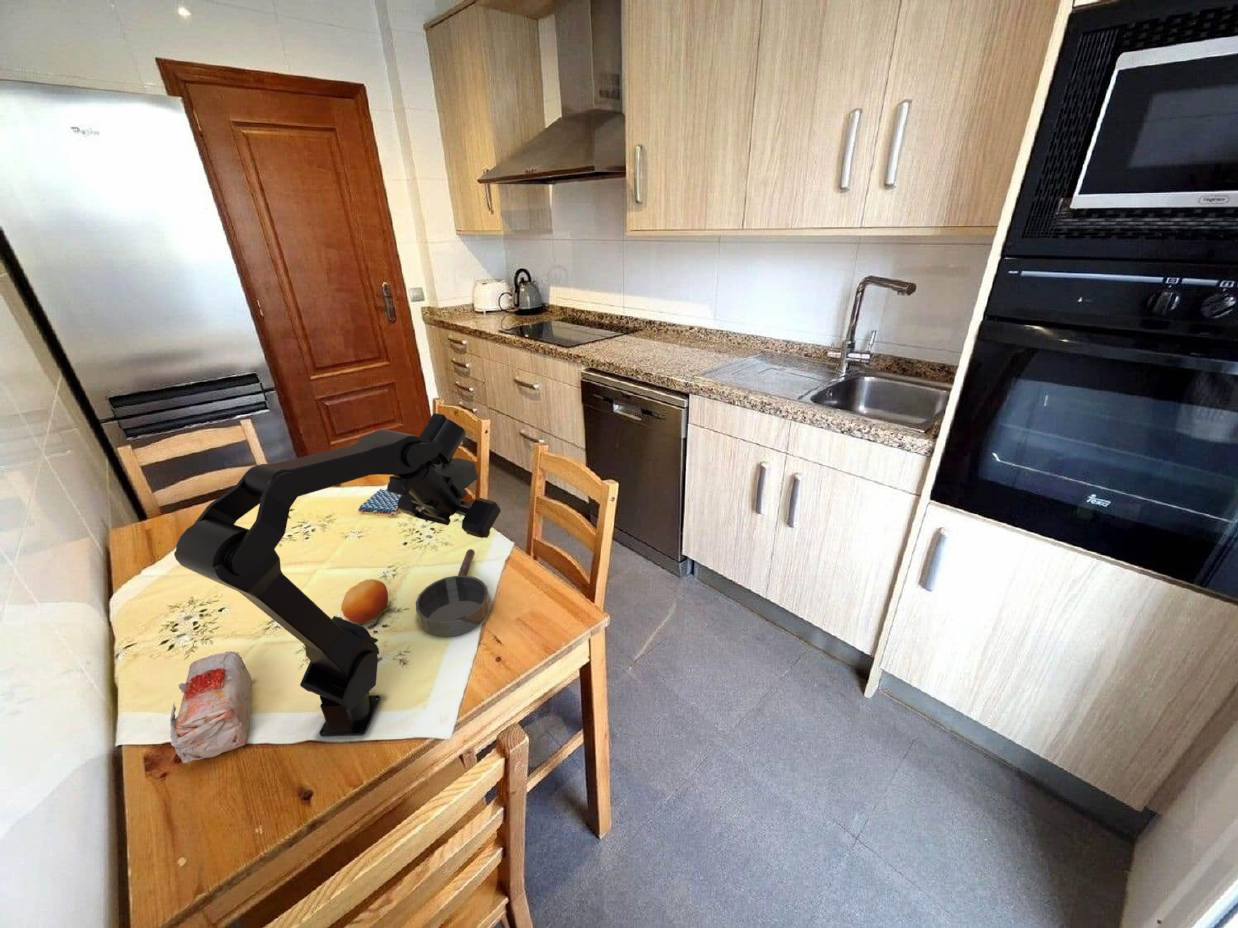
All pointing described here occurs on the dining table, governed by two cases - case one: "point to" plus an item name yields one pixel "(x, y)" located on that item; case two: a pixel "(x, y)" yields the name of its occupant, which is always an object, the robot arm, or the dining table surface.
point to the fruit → (365, 601)
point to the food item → (212, 708)
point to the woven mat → (381, 503)
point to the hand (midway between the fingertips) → (468, 529)
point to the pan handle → (466, 563)
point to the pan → (452, 606)
